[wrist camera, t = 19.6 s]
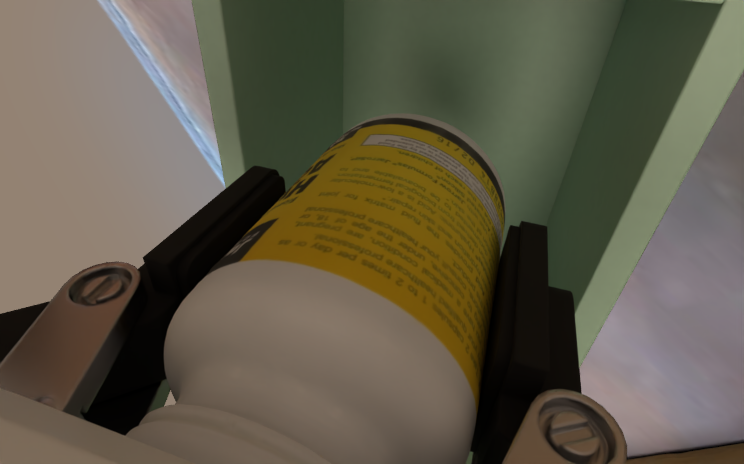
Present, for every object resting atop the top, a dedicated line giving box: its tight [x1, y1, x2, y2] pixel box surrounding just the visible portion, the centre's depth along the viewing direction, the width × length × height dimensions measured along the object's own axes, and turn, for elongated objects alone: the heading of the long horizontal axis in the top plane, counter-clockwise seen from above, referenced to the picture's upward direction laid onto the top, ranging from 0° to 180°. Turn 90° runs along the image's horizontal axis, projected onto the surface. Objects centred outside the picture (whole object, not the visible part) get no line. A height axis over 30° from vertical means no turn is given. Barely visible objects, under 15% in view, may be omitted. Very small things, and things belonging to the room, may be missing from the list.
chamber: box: [192, 0, 744, 368], centre depth 17 cm, size 16×13×10 cm
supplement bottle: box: [125, 113, 506, 464], centre depth 9 cm, size 5×5×10 cm
